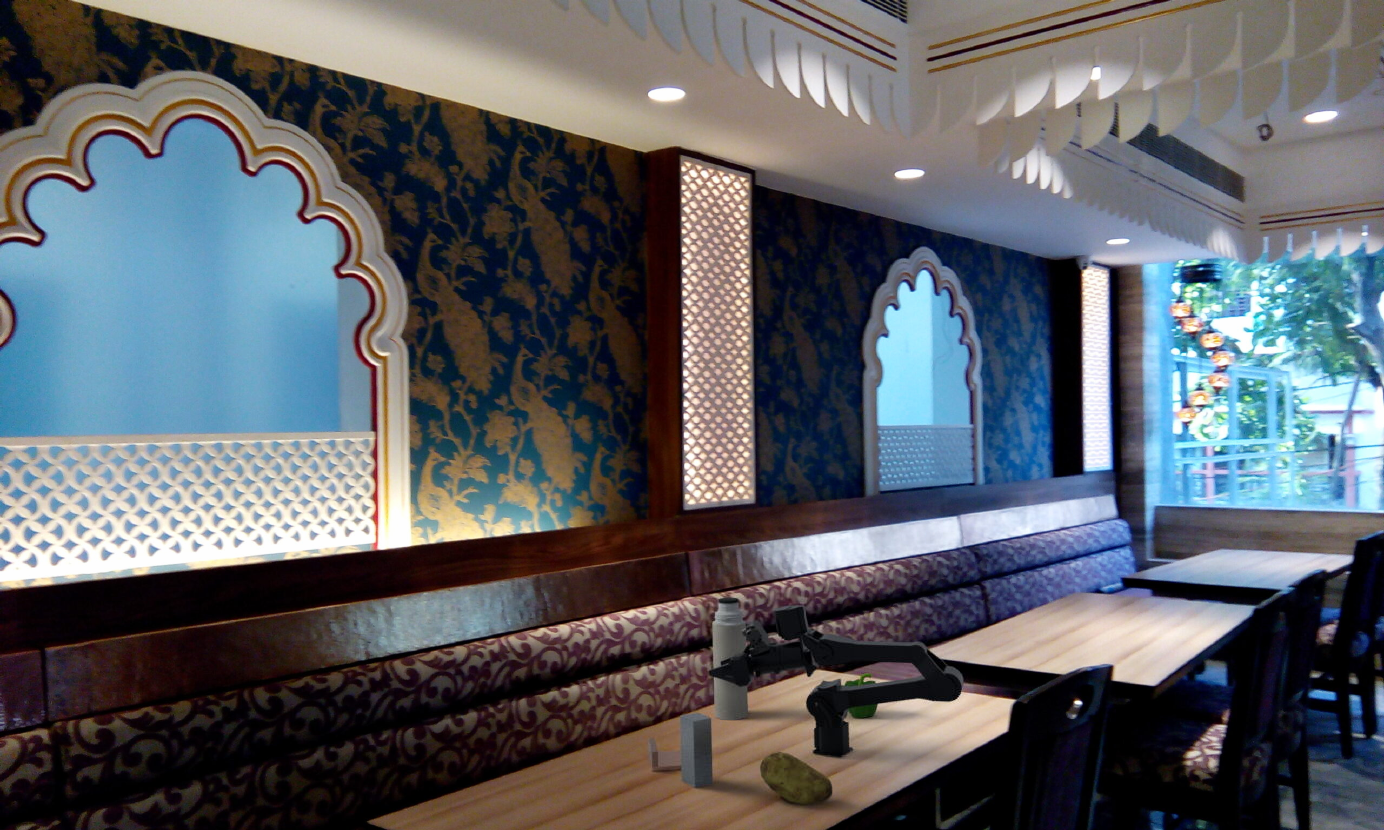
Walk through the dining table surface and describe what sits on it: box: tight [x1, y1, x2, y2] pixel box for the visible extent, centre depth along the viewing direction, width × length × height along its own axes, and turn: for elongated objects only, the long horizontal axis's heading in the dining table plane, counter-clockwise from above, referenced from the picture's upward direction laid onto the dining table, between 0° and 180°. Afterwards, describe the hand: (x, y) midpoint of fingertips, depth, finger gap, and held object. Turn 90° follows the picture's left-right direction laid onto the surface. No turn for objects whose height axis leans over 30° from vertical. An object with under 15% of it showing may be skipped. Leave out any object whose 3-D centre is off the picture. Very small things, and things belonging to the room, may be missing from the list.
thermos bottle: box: [711, 597, 749, 721], centre depth 243 cm, size 8×8×28 cm
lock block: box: [679, 712, 714, 789], centre depth 196 cm, size 4×5×12 cm
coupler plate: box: [647, 737, 681, 772], centre depth 208 cm, size 10×10×4 cm
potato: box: [759, 751, 833, 805], centre depth 184 cm, size 8×13×8 cm, turn 47°
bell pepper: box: [843, 672, 879, 719], centre depth 240 cm, size 8×8×10 cm
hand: (714, 668), depth 221 cm, fingers open, 9 cm apart
